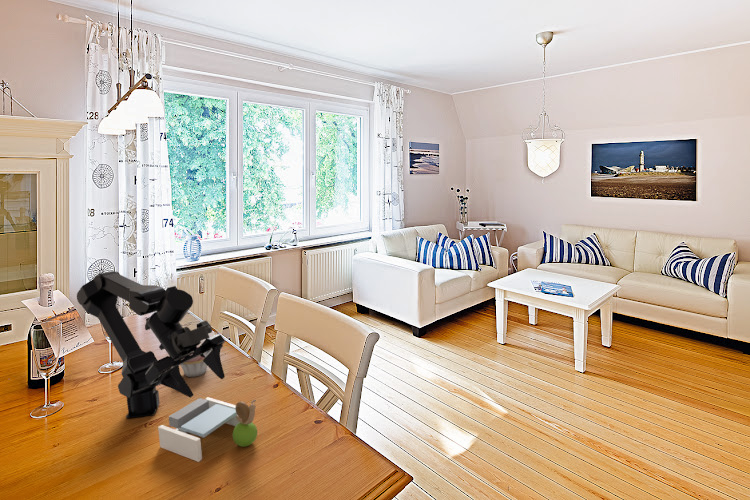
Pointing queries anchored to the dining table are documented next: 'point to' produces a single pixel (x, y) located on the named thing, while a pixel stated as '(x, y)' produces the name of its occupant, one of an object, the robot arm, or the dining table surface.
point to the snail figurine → (245, 424)
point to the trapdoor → (201, 417)
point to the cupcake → (194, 366)
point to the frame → (188, 436)
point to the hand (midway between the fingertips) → (208, 386)
